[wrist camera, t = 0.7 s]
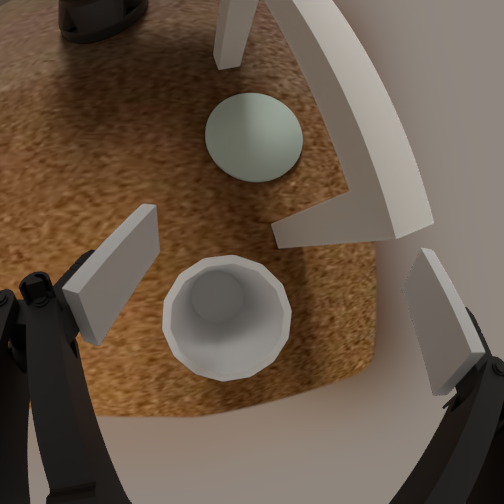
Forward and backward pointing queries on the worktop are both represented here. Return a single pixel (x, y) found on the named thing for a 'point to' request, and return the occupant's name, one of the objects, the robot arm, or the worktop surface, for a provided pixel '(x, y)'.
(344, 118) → the keeper arch
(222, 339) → the foam cup
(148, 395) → the worktop surface
